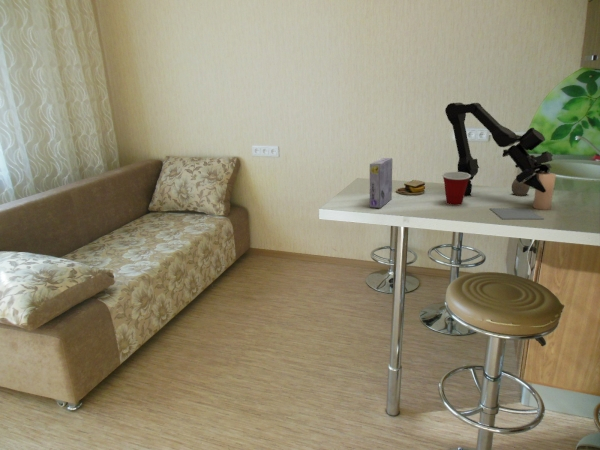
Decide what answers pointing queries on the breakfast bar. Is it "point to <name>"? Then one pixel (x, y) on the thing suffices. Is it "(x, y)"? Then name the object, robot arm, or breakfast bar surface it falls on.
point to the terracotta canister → (545, 199)
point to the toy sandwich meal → (412, 188)
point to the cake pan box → (380, 182)
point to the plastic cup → (455, 186)
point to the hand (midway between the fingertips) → (548, 190)
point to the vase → (520, 188)
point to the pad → (516, 214)
